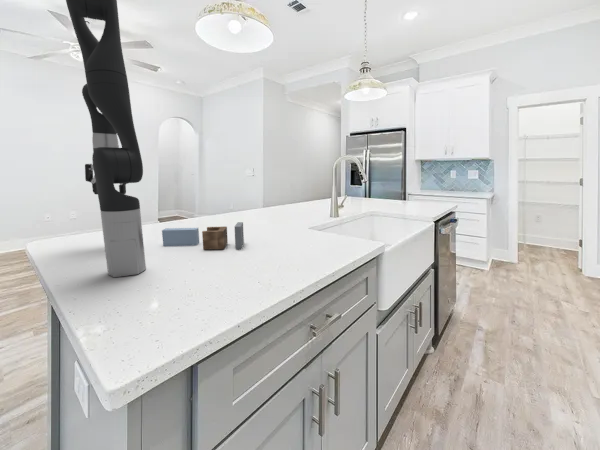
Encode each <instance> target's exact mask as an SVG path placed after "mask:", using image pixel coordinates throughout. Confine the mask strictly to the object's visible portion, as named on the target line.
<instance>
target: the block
mask: <svg viewBox="0 0 600 450" xmlns="http://www.w3.org/2000/svg"><path fill="white" fill-rule="evenodd" d="M201 233H202V237H201V238H202V248H203V250H224V249H225V248H226V247H227V245H228V243H229V242H228V226H207V227H206V230H202V232H201Z"/></svg>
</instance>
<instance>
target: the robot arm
mask: <svg viewBox="0 0 600 450" xmlns="http://www.w3.org/2000/svg"><path fill="white" fill-rule="evenodd" d="M65 3H66V6H67V9H68V13H69V17H70V20H71V23H72V27H73V31H74V34H75V36H76V39H77V43H78V46H79V49H80V53H81V56H82V62H83V67H84V73H85V79H86V84H84V85H83V86H82V89H81V94H82V97H83V100H84V102H85V105H86V107H87V109H88V113H89V117H90V121H91V131H92V137H91V138H92V151H93V152H92V163H85V164H84V175H85V177H84V178H85V182H89V183H91V186H92V192H93V194H94V195H97V197H98V203H99V210H100V217H101V218H100V219H101V226H102V235H103V243H104V252H105V260H106V267H107V269H106V270H107V275H109V276H111V277H112V278H119V277H127V276H135V275H139V274H141V273H142V272H144V271H146V269H147V265H146V258H145V257H146V255H145V246H144V237H143V225H142V215H141V214H142V213H141V205H140V200H139V198H138V197H136V196H132V195H127V194H126V193H127V189H126V188H127V184H128V185H129V184H136V183H139V182H141V181H142V179H143V174H144V167H143V160H142V154H141V150H140V145H139V141H138V137H137V134H136V129H135V124H134V123H135V122H134V119H133V114H132V104H131V96H130V95H131V94H130V89H129V88H130V87H129V81H128V76H127V70H126V65H125V61H124V60H125V59H124V54H123V49H122V41H121V30H120V20H119V19H120V18H119V10H118V0H65ZM87 18H88V19H90V20H91V19H92V20H95V21H96V20H98V21H104V28H103V31H102V32H103V33H102V34H101V36H100V39H99V40H98V38H97V37H96V36H95V35H94V34H93V32H92V30H90V28H89V26H88V25H87V23H86V19H87ZM118 139H119V141H118ZM119 142H120V144H121V145H119ZM115 184H118V190H119V191H118V190H117V189H116V186H115Z"/></svg>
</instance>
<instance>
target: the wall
mask: <svg viewBox="0 0 600 450" xmlns="http://www.w3.org/2000/svg"><path fill="white" fill-rule="evenodd" d="M234 243H235V245H234V246H235V247H234V249H235V250H242V249H243V246H244V243H245V237H244V222H241V221H240V222H236V224H235V225H234Z"/></svg>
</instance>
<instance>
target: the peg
mask: <svg viewBox="0 0 600 450" xmlns="http://www.w3.org/2000/svg"><path fill="white" fill-rule="evenodd" d="M161 235H162V236H161V238H162V245H163V247H178V246H179V247H182V246H185V247H186V246H198V245H199V244H200V233H199V227H178V228H177V227H172V228H171V227H170V228H169V227H168V228H163V229H162V230H161Z"/></svg>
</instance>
